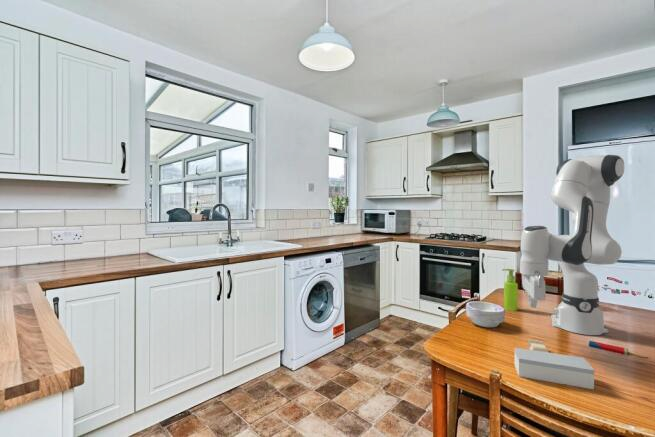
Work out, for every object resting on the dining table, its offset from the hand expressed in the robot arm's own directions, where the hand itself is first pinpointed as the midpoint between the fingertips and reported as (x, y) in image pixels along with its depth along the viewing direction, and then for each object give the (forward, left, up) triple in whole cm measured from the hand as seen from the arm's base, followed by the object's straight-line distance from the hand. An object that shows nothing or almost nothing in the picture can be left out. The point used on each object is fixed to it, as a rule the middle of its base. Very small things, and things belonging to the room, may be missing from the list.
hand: (532, 306), depth 118 cm
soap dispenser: (-44, -2, -14) cm, 46 cm away
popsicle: (-4, +26, -14) cm, 30 cm away
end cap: (+25, 0, -14) cm, 29 cm away
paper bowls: (-16, -15, -14) cm, 26 cm away
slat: (+12, 0, -14) cm, 19 cm away
